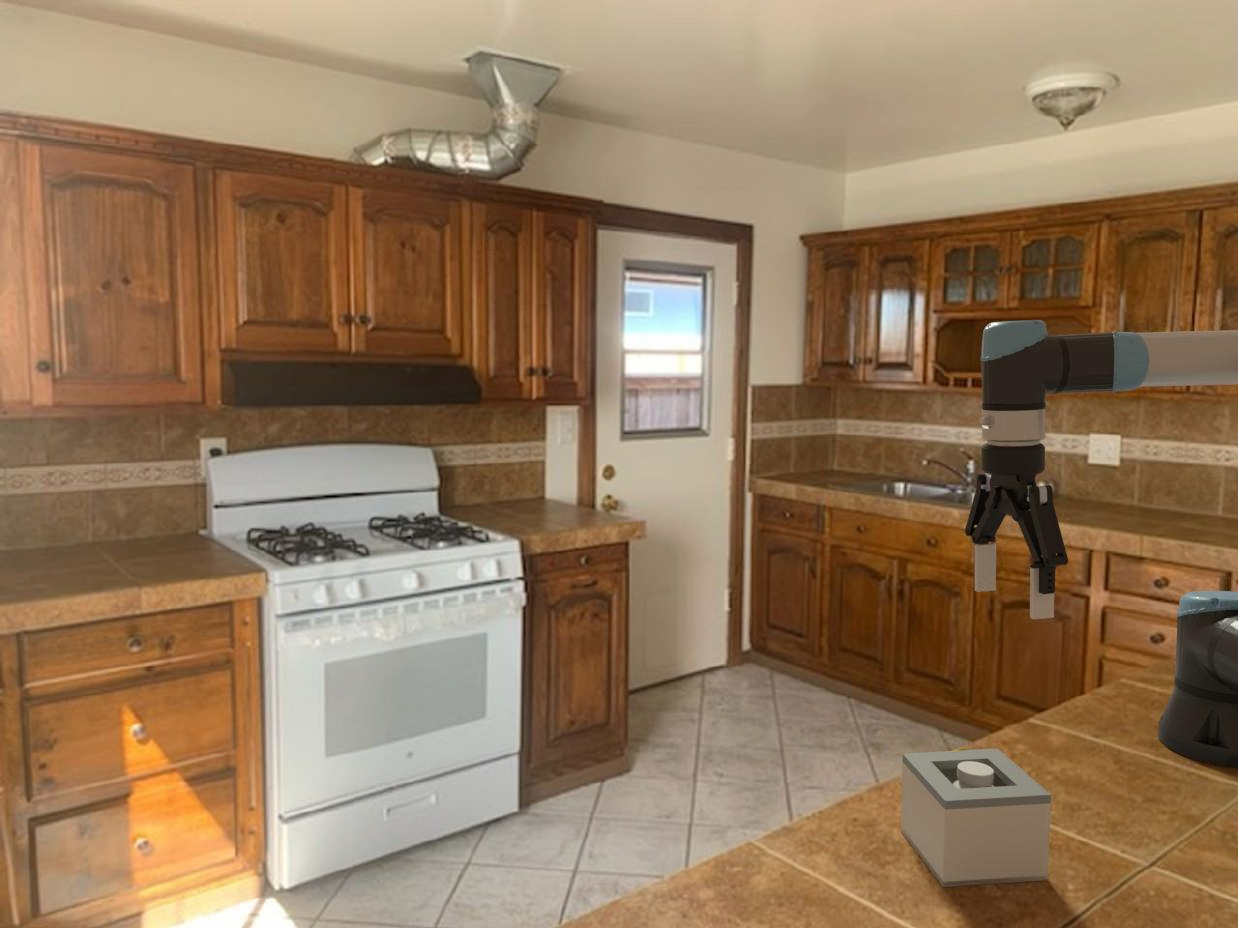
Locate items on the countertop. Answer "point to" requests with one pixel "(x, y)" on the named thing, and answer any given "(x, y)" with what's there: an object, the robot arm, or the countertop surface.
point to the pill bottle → (974, 775)
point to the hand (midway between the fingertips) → (1011, 603)
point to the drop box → (975, 819)
